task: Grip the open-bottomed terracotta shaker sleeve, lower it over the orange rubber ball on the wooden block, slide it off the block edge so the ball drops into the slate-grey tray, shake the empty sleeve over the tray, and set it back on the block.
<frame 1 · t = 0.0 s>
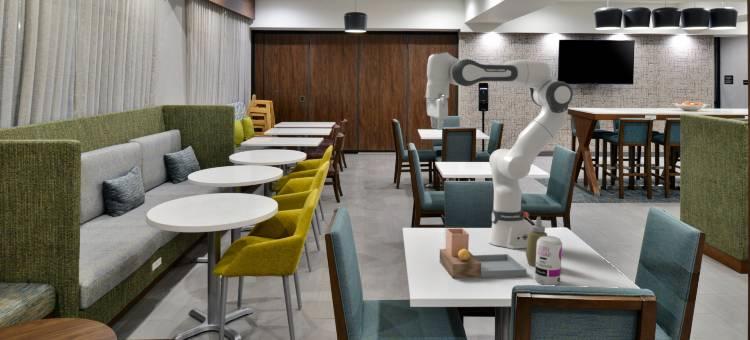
hand: (436, 128, 228), 48 cm above the table, fingers open, 8 cm apart
supplement can: (547, 282, 194), on the table
sleeve: (456, 252, 209), point 5 cm above the table, touching wooden block
ball: (464, 254, 200), point 7 cm above the table, touching wooden block
wooden block: (459, 269, 206), on the table
tray: (495, 268, 206), on the table
squeeze bottle: (536, 265, 212), on the table
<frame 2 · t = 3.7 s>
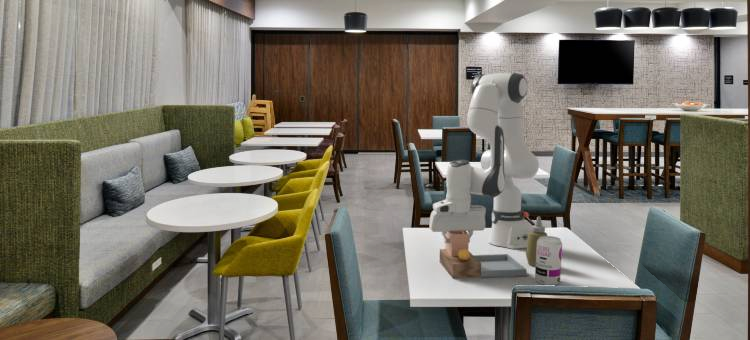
hand: (456, 242, 208), 9 cm above the table, fingers closed on sleeve, 6 cm apart
sleeve: (456, 252, 209), point 5 cm above the table, touching wooden block, gripper
everything else where it was.
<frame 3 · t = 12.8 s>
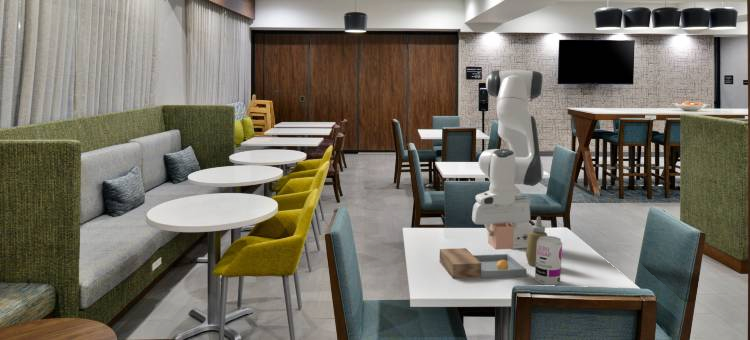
hand: (500, 235, 201), 13 cm above the table, fingers closed on sleeve, 6 cm apart
sleeve: (500, 245, 201), point 10 cm above the table, touching gripper
ball: (502, 265, 202), point 2 cm above the table, tilted 82°, touching tray
everything else where it was.
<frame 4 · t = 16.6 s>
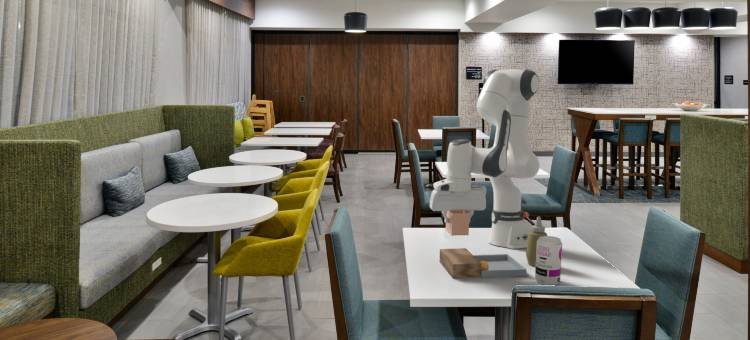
hand: (457, 222, 207), 16 cm above the table, fingers closed on sleeve, 6 cm apart
sleeve: (456, 232, 207), point 13 cm above the table, touching gripper
ball: (483, 266, 201), point 2 cm above the table, tilted 124°, touching tray
everything else where it was.
when the fingers open (10 cm above the table, at t = 18.2 s): sleeve stays where it is, resting on wooden block.
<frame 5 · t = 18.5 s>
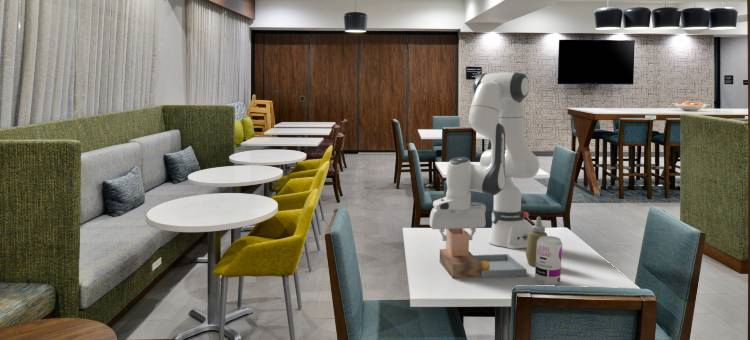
hand: (457, 240, 208), 10 cm above the table, fingers open, 8 cm apart
sleeve: (456, 252, 209), point 5 cm above the table, touching wooden block
ball: (484, 266, 201), point 2 cm above the table, tilted 112°, touching tray
everything else where it was.
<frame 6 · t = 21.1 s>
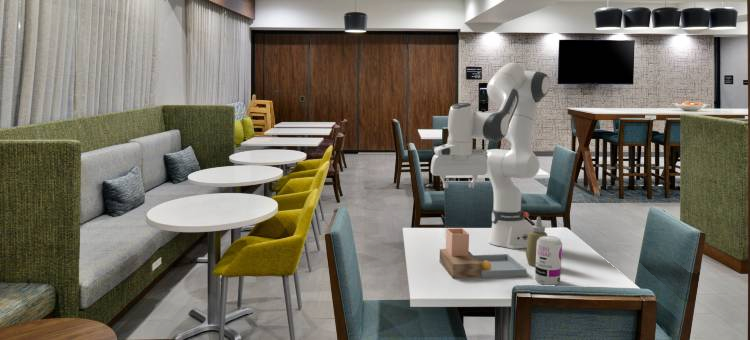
hand: (458, 187, 205), 29 cm above the table, fingers open, 8 cm apart
ball: (485, 266, 201), point 2 cm above the table, tilted 96°, touching tray
everything else where it was.
at the end: ball inside the target area (6.1 cm from its centre), point 2.5 cm above the table; sleeve tilted 0°; the gripper is holding nothing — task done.
